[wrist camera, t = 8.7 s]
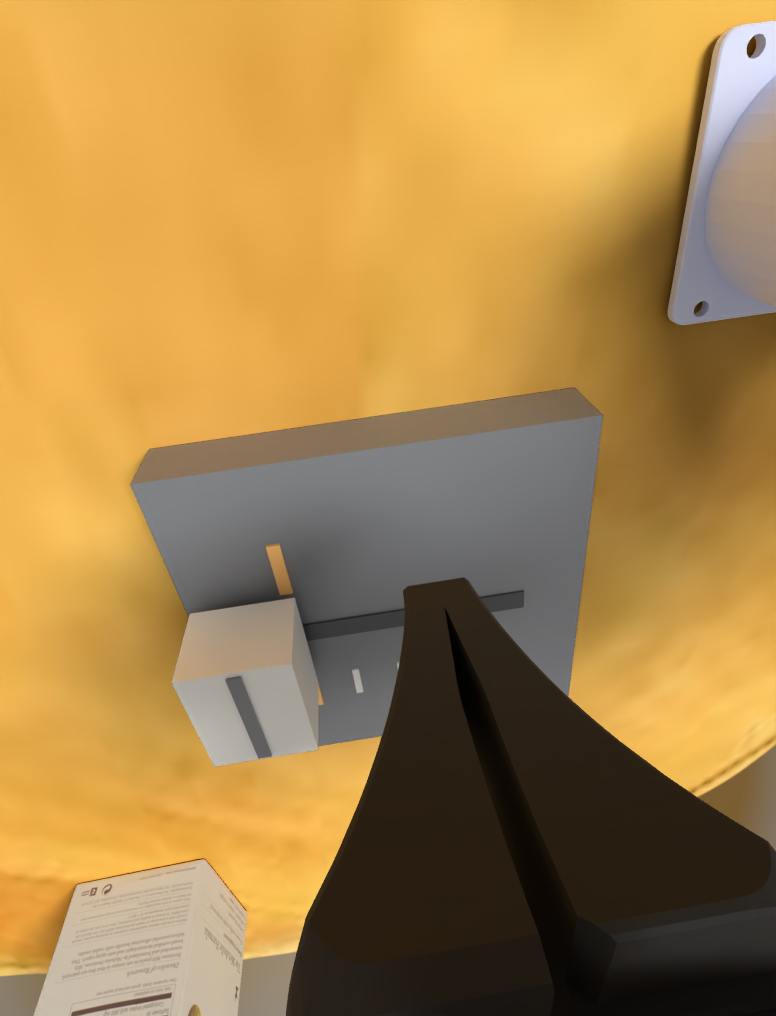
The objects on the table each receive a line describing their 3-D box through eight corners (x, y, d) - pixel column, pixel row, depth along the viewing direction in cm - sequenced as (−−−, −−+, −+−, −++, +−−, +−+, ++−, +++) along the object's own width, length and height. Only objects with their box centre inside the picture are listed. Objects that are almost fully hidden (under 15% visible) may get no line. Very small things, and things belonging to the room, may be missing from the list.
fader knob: (295, 592, 21) (291, 666, 18) (318, 676, 24) (318, 752, 21) (191, 608, 21) (170, 685, 18) (226, 690, 24) (214, 769, 21)
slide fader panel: (574, 387, 21) (604, 416, 19) (549, 666, 30) (568, 708, 28) (149, 449, 20) (128, 486, 18) (254, 713, 29) (249, 759, 27)
